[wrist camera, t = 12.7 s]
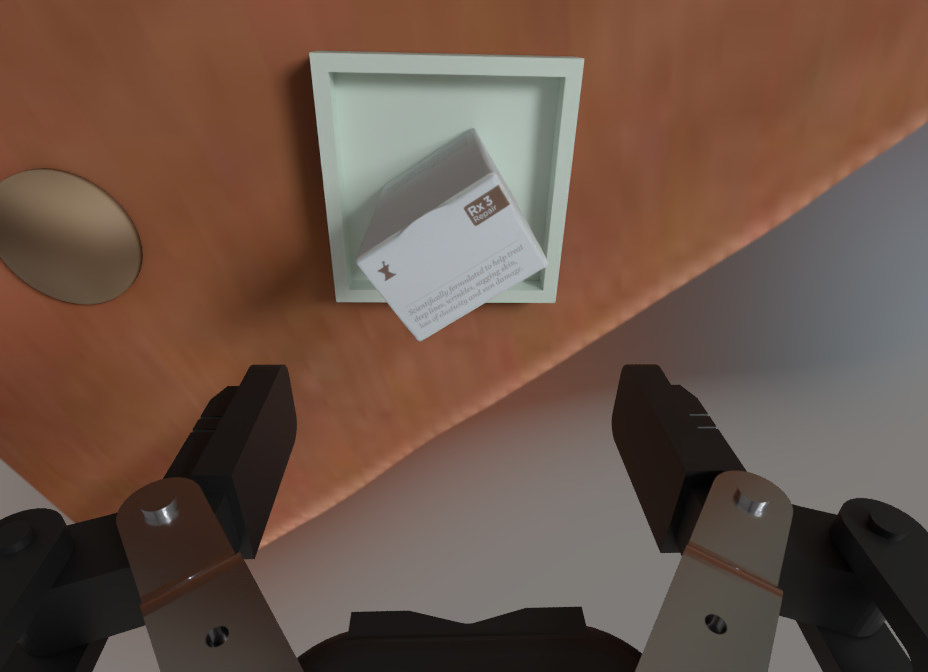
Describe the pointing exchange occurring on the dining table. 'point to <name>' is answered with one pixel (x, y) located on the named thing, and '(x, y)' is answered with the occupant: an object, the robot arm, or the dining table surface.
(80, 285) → the coaster
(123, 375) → the dining table surface
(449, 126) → the tray
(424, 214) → the skincare box
